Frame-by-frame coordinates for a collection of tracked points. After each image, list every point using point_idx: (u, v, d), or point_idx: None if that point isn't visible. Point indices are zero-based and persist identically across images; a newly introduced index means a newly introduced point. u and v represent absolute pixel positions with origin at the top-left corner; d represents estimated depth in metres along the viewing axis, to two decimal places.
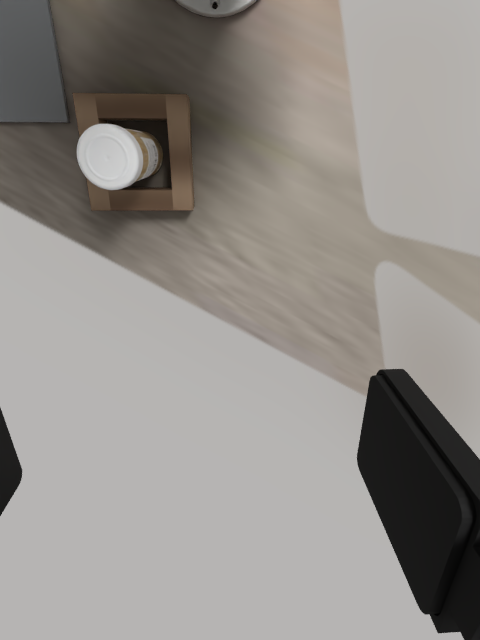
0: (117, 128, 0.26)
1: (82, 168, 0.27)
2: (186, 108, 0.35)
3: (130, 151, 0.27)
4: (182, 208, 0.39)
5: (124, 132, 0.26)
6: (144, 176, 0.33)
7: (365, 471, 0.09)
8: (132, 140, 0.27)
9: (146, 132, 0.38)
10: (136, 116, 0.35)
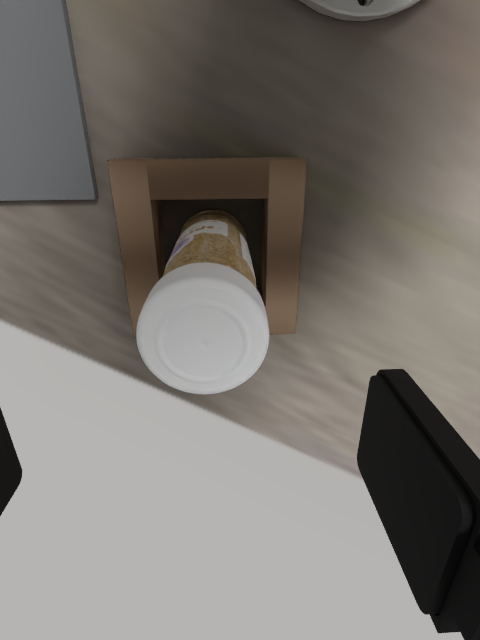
0: (231, 286, 0.12)
1: (148, 362, 0.13)
2: (303, 181, 0.20)
3: (254, 331, 0.12)
4: (279, 331, 0.24)
5: (245, 292, 0.12)
6: None
7: (365, 471, 0.09)
8: (259, 305, 0.12)
9: (223, 212, 0.23)
10: (216, 196, 0.20)
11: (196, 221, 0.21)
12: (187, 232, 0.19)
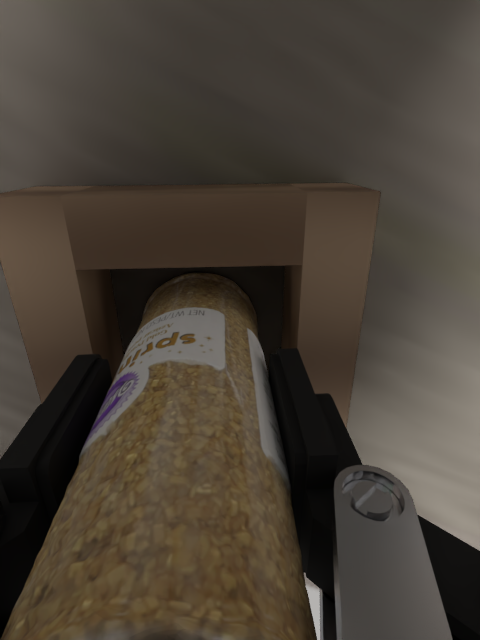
0: None
1: None
2: (370, 234, 0.10)
3: None
4: None
5: None
6: None
7: None
8: None
9: (217, 277, 0.13)
10: (203, 262, 0.10)
11: (167, 303, 0.11)
12: (143, 341, 0.09)
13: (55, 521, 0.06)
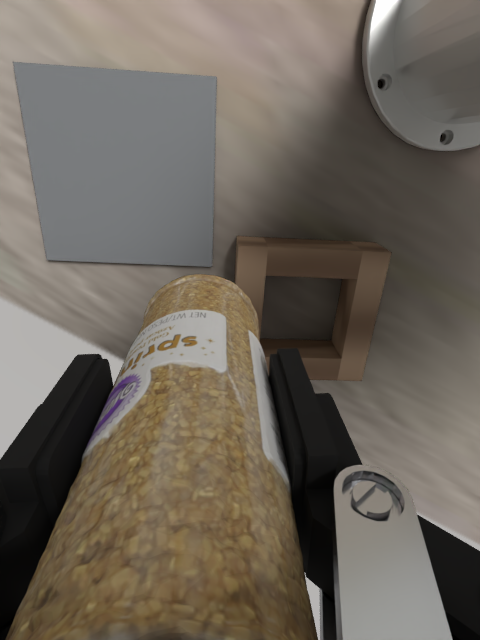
0: None
1: None
2: (386, 268, 0.26)
3: None
4: (349, 378, 0.29)
5: None
6: None
7: None
8: None
9: (219, 279, 0.13)
10: (317, 275, 0.26)
11: (168, 305, 0.12)
12: (145, 343, 0.09)
13: (58, 524, 0.06)
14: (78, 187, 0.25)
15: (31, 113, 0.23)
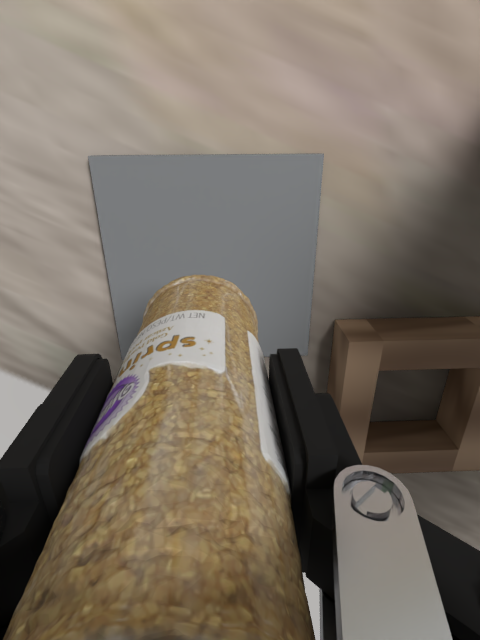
0: None
1: None
2: None
3: None
4: (465, 468, 0.26)
5: None
6: None
7: None
8: None
9: (218, 279, 0.13)
10: (439, 367, 0.22)
11: (167, 305, 0.12)
12: (143, 344, 0.09)
13: (56, 525, 0.06)
14: (159, 283, 0.21)
15: (108, 209, 0.20)
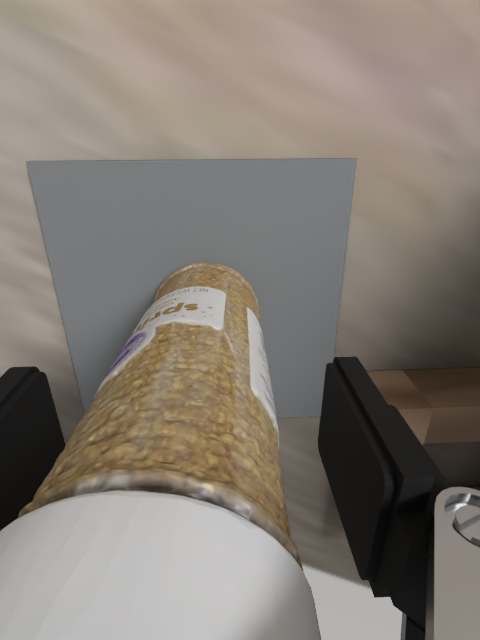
0: None
1: None
2: None
3: None
4: None
5: None
6: None
7: (323, 454, 0.10)
8: None
9: (222, 266, 0.14)
10: None
11: (175, 285, 0.13)
12: (152, 312, 0.11)
13: (73, 434, 0.07)
14: (132, 330, 0.16)
15: (58, 234, 0.14)
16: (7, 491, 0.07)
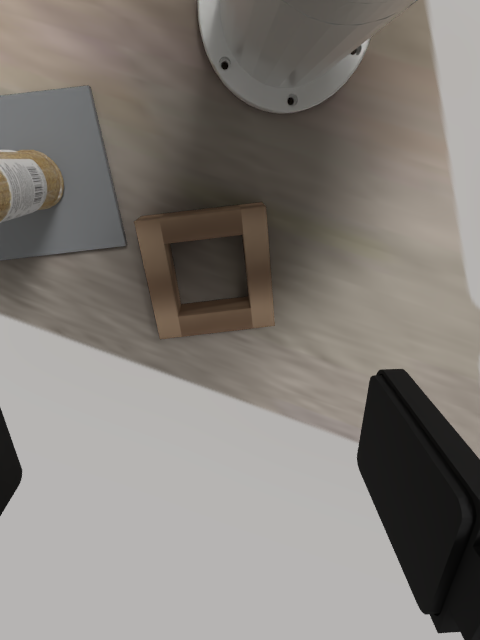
0: None
1: None
2: (265, 221, 0.29)
3: None
4: (263, 325, 0.33)
5: None
6: (16, 212, 0.24)
7: (365, 471, 0.09)
8: None
9: (34, 150, 0.28)
10: (208, 237, 0.30)
11: None
12: None
13: None
14: None
15: None
16: None
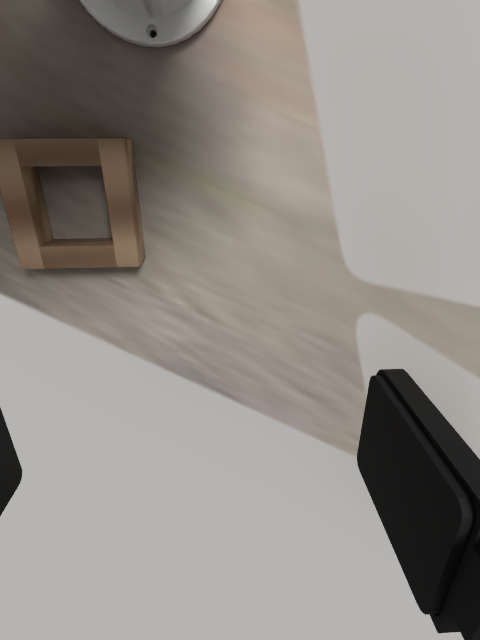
0: None
1: None
2: (123, 154, 0.29)
3: None
4: (127, 264, 0.33)
5: None
6: None
7: (365, 471, 0.09)
8: None
9: None
10: (65, 164, 0.30)
11: None
12: None
13: None
14: None
15: None
16: None
